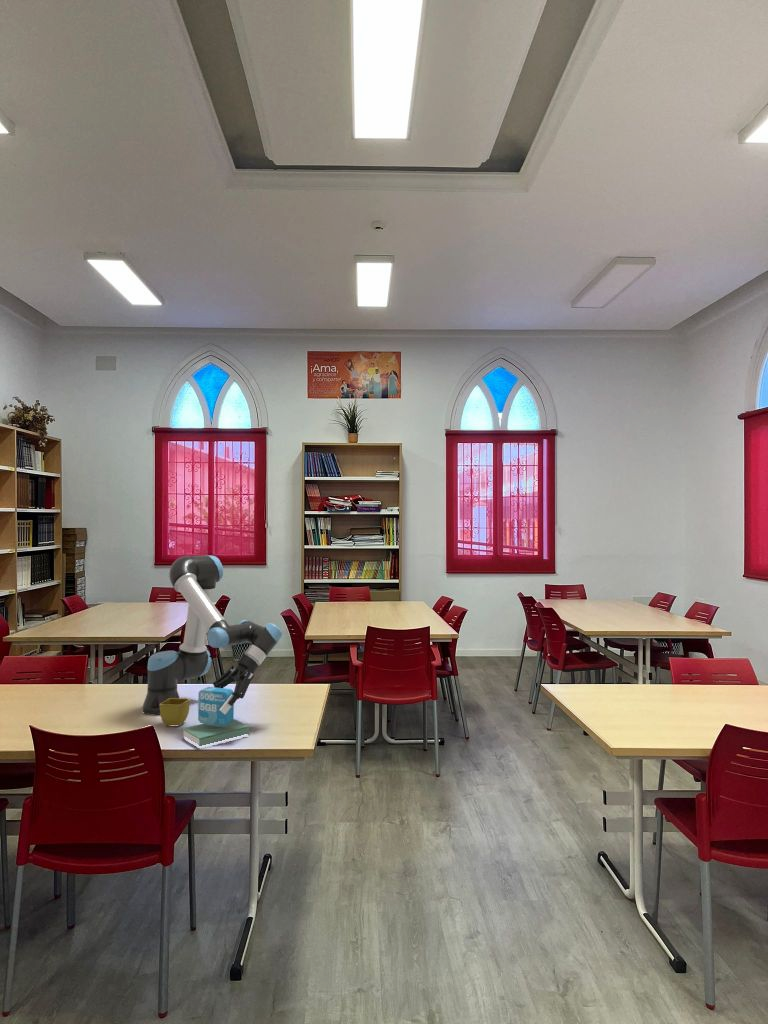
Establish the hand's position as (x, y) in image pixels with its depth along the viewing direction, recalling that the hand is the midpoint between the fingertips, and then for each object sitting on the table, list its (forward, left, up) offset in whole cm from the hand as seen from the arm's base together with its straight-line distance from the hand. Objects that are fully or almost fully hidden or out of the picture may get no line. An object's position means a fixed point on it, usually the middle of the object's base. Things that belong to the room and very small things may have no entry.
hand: (213, 708), depth 218 cm
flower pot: (-24, -4, -11) cm, 27 cm away
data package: (0, +1, -6) cm, 6 cm away
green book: (0, +1, -11) cm, 11 cm away
